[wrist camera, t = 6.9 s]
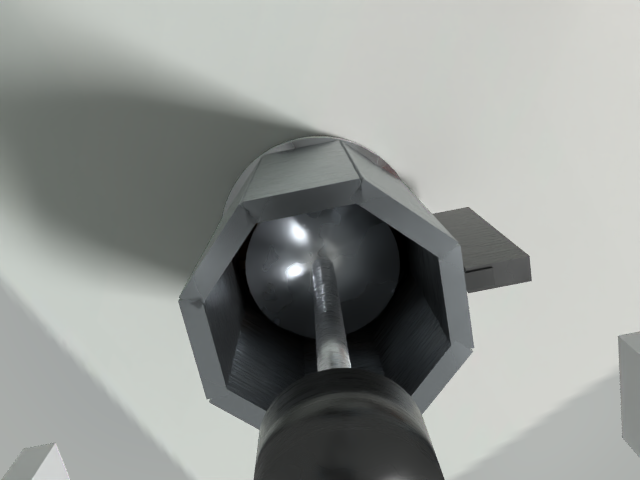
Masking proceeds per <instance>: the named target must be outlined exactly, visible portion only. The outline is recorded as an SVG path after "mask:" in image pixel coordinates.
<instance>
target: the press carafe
mask: <svg viewBox="0 0 640 480" xmlns="http://www.w3.org/2000/svg"><path fill="white" fill-rule="evenodd" d="M356 203H357V204H358V205H360V206H361V207H363V208H364V209H366V210H367V211H369V212H370V213H372V214H373V215H375V216H376V217H378V218H379V219H381V220H382V221H384V222H385V223H387V224H388V226H389V228H390V229H391V231H392V233H393V235H394V238H395V240H396V243H397V246H398V251H399V258H400V272H399V277H398V282H397V285H396V288H395V291H394V293H393V295H392V297H391V299H390V301H389V302H388V304H387V305H386V307H385V308H384V309H383V310H382V311H381V313H380V314H379V315H378V316H377V317H376V318H374V319H373V320H372V321H371V322H369V323H368V324H367V325H365V326H364V327H362V328H360V329H358V330H356V331H354V332H351V333H348V334H346V341H347V347H348V353H349V359H350V364H351V368H357V369H363V370H368V371H372V372H375V373H377V374H380V375H383V376H384V377H386V378H388V379H390V380H392V381H394V382H395V383H396V384H398V385H399V386H401V387H402V388H403V389H404V390H405V391H406V392H407V393H408V394H409V395H410V396H411V398H412V399H413V400H414V401H415V403H416V405H417V406H418V408H419V410H420V413H421V415H422V414H423V413H424V411H425V410H426V409H427V408H428V406H429V405H430V404H431V403H432V401H433V400H434V399H435V398H436V397H437V395H438V394H439V393H440V392H441V390H442V389H443V388H444V387H445V385H446V384H447V383H448V382H449V380H450V379H451V378H452V377H453V376H454V374H455V373H456V372H457V371H458V369H459V368H460V367H461V366H462V364H463V363H464V362H465V361H466V360H467V358H468V357H469V356H470V355H471V353H472V352H473V351H472V349H471V348H474V344H473V336H472V328H471V321H470V313H469V306H468V298H467V292H468V293H472V292H477V291H482V290H487V289H492V288H497V287H502V286H508V285H513V284H518V283H523V282H528V281H532V279H531V268H530V258H529V255H528V254H526V253H525V252H524V251H523V250H521V249H520V248H519V247H518V246H516V245H515V244H514V243H513V242H511V241H510V240H509V239H508V238H506V237H505V236H504V235H503V234H501V233H500V232H499V231H498V230H496V229H495V228H494V227H493V226H491V225H490V224H489V223H488V222H486V221H485V220H484V219H483V218H481V217H480V216H479V215H478V214H476V213H475V212H474V211H473V210H471V209H470V208H469V207H466V208H461V209H456V210H451V211H445V212H440V213H435V214H432V213H431V212H430V211H429V210H428V209H427V208H426V207H425V206H424V205H423V204H422V202H421V201H420V200H419V199H418V198H417V197H416V196H415V195H414V194H413V193H412V192H411V191H410V190H409V188H408V187H407V186H406V185H405V184H404V183H403V181H402V180H401V179H400V177H399V176H398V175H397V173H396V172H395V171H394V170H393V169H392V168H391V167H390V166H389V165H388V164H387V163H386V162H385V161H384V160H383V159H382V158H381V157H379V156H378V155H377V154H376V153H374V152H373V151H371V150H369V149H367V148H366V147H364V146H362V145H360V144H357V143H355V142H352V141H349V140H346V139H342V138H338V137H330V136H309V137H301V138H297V139H293V140H289V141H286V142H284V143H281V144H279V145H277V146H274V147H273V148H271V149H269V150H268V151H266V152H264V153H263V154H262V155H260V156H259V157H258V158H256V159H255V160H254V161H253V162H252V163H251V164H250V165H249V166H248V167H247V168H246V169H245V170H244V171H243V173H242V174H241V175H240V177H239V178H238V180H237V181H236V183H235V185H234V186H233V188H232V190H231V192H230V194H229V196H228V199H227V201H226V204H225V207H224V211H223V215H222V219H221V221H220V223H219V225H218V227H217V228H216V230H215V232H214V234H213V236H212V238H211V239H210V241H209V243H208V245H207V247H206V249H205V250H204V252H203V254H202V256H201V258H200V260H199V261H198V263H197V265H196V267H195V269H194V271H193V272H192V274H191V276H190V278H189V280H188V282H187V283H186V285H185V287H184V289H183V291H182V293H181V294H180V296H179V298H180V299H179V301H178V302H179V305H180V309H181V312H182V316H183V319H184V323H185V326H186V330H187V333H188V336H189V340H190V343H191V347H192V350H193V354H194V357H195V361H196V364H197V367H198V371H199V374H200V378H201V381H202V385H203V388H204V392H205V395H206V398H207V399H210V401H209V402H210V403H212V404H213V405H215V406H217V407H219V408H221V409H223V410H224V411H226V412H228V413H230V414H232V415H233V416H235V417H237V418H239V419H241V420H243V421H244V422H246V423H248V424H250V425H252V426H254V427H255V428H257V429H259V430H260V427H261V423H262V420H263V418H264V415H265V413H266V411H267V410H268V408H269V406H270V405H271V403H272V402H273V401H274V400H275V398H276V397H277V396H278V395H279V394H280V393H281V392H282V391H283V390H284V389H285V388H287V387H288V386H289V385H291V384H292V383H294V382H295V381H297V380H299V379H301V378H303V377H305V376H307V375H310V374H312V373H315V372H318V370H317V351H316V338H313V337H306V336H302V335H298V334H295V333H292V332H290V331H288V330H286V329H284V328H282V327H280V326H279V325H277V324H276V323H274V322H273V321H272V320H271V319H270V318H268V317H267V316H266V315H265V314H264V312H263V311H262V310H261V309H260V308H259V306H258V305H257V303H256V302H255V300H254V298H253V296H252V294H251V292H250V289H249V286H248V283H247V277H246V264H245V263H246V254H247V250H248V246H249V242H250V239H251V237H252V234H253V232H254V229H255V228H256V226H257V224H258V223H261V222H266V221H271V220H276V219H281V218H286V217H291V216H296V215H301V214H306V213H311V212H316V211H321V210H326V209H331V208H336V207H341V206H346V205H351V204H356Z"/></svg>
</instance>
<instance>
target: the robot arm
mask: <svg viewBox="0 0 640 480" xmlns="http://www.w3.org/2000/svg"><path fill="white" fill-rule="evenodd" d="M618 346H619V370H620V393H621V415H622V438H623V439H624V440H625V441H626V442H627V443H628V445H629V446H630V447H631V448H632V449H633V450H634V452H635V453H636V454H637V455H638V456H639V457H640V332H635V333H630V334H625V335H620V336H618ZM2 480H70V477H69V475H68V473H67V470H66V467H65V465H64V462H63V460H62V457H61V455H60V452H59V450H58V447H57V445H56V443H51V444H46V445H41V446H35V447H30V448H24V449H23V450H22V452H21V453H20V455H19V456H18V457H17V459H16V460H15V462H14V463H13V464H12V466H11V467H10V468H9V470H8V471H7V473H6V474H5V475H4V477H3V478H2Z"/></svg>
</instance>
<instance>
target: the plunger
mask: <svg viewBox="0 0 640 480" xmlns="http://www.w3.org/2000/svg"><path fill="white" fill-rule="evenodd" d="M245 264H246V277H247V283H248V286H249V289H250V292H251V294H252V296H253V298H254V300H255V302H256V303H257V305H258V306H259V308H260V309H261V310H262V311H263V312H264V314H265V315H266V316H267V317H268V318H270V319H271V320H272V321H273V322H274V323H276V324H277V325H279V326H280V327H282V328H284V329H286V330H288V331H290V332H292V333H295V334H298V335H302V336H306V337H313V338H316V351H317V370H318V372H315V373H312V374H310V375H307V376H305V377H303V378H301V379H299V380H297V381H295V382H294V383H292V384H291V385H289V386H288V387H287V388H285V389H284V390H283V391H282V392H281V393H280V394H279V395H278V396H277V397H276V398H275V400H274V401H273V402H272V403H271V405H270V406H269V408H268V410H267V411H266V413H265V415H264V418H263V420H262V423H261V427H260V431H259V439H258V448H257V456H256V465H255V473H254V480H444V477H443V474H442V471H441V468H440V465H439V463H438V460H437V457H436V454H435V451H434V448H433V446H432V443H431V440H430V437H429V434H428V431H427V429H426V426H425V423H424V420H423V417H422V415H421V413H420V410H419V408H418V406H417V405H416V403H415V401H414V400H413V399H412V398H411V396H410V395H409V394H408V393H407V392H406V391H405V390H404V389H403V388H402V387H401V386H399V385H398V384H396V383H395V382H394V381H392V380H390V379H388V378H386V377H384V376H383V375H380V374H377V373H375V372H372V371H368V370H363V369H357V368H351V364H350V359H349V353H348V347H347V341H346V334H348V333H351V332H354V331H356V330H358V329H360V328H362V327H364V326H365V325H367V324H368V323H369V322H371V321H372V320H373V319H374V318H376V317H377V316H378V315H379V314H380V313H381V311H382V310H383V309H384V308H385V307H386V305H387V304H388V302H389V301H390V299H391V297H392V295H393V293H394V291H395V288H396V285H397V282H398V277H399V272H400V258H399V251H398V246H397V243H396V240H395V238H394V235H393V233H392V231H391V229H390V228H389V226H388V224H387V223H385V222H384V221H382V220H381V219H379V218H378V217H376V216H375V215H373V214H372V213H370V212H369V211H367V210H366V209H364V208H363V207H361V206H360V205H358V204H357V203H356V204H351V205H346V206H341V207H336V208H331V209H326V210H321V211H316V212H311V213H306V214H301V215H296V216H291V217H286V218H281V219H276V220H271V221H266V222H261V223H258V224H257V226H256V228H255V229H254V232H253V234H252V237H251V239H250V242H249V246H248V250H247V254H246V263H245Z"/></svg>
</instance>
